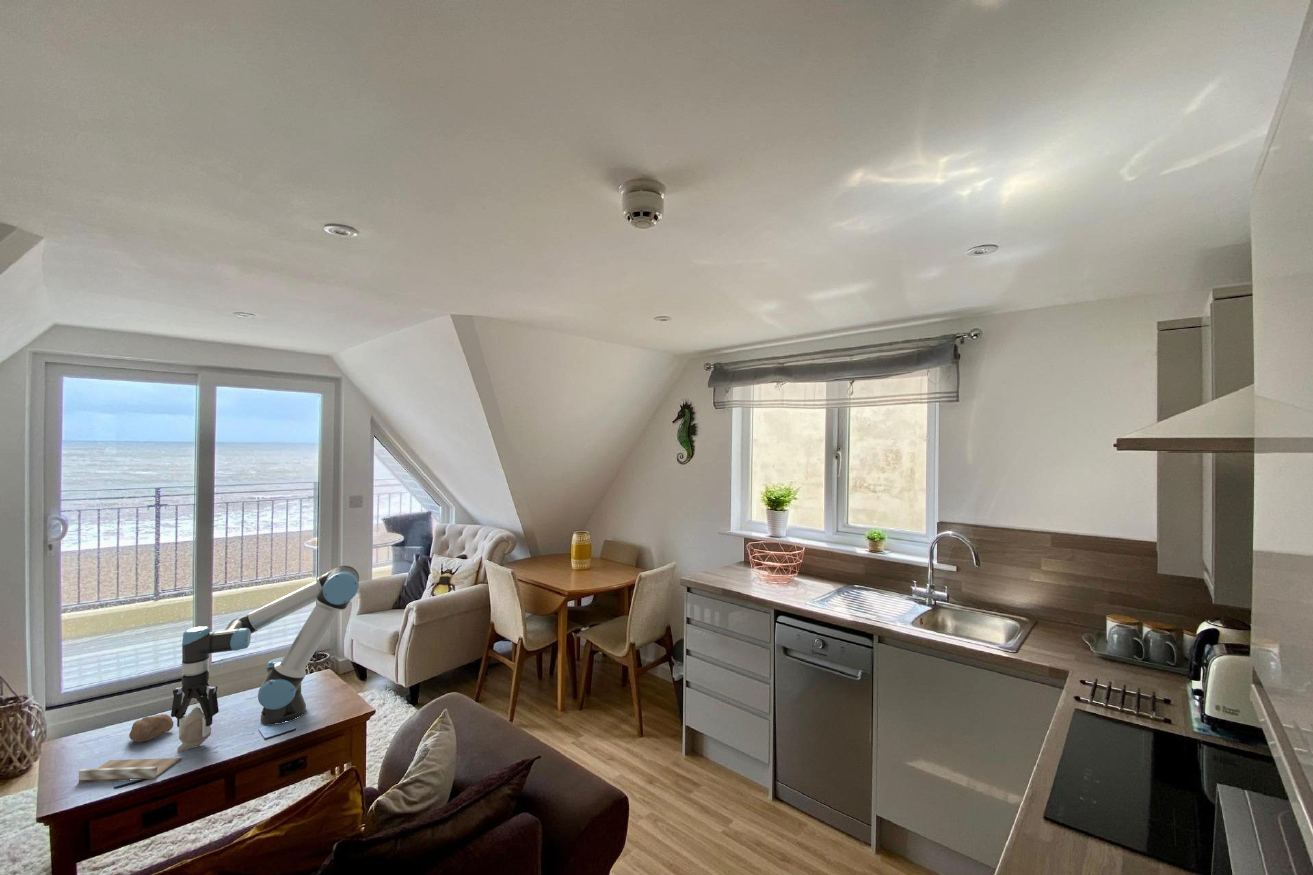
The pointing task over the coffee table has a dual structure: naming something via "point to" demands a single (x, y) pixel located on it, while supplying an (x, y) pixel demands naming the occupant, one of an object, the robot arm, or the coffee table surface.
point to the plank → (128, 770)
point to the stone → (150, 727)
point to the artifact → (192, 731)
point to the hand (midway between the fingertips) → (194, 734)
